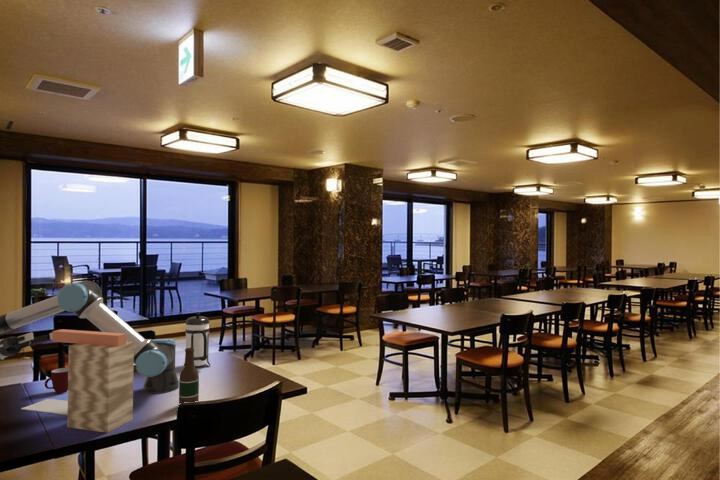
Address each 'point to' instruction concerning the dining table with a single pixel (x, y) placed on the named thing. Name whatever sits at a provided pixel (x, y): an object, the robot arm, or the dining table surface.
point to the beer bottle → (189, 379)
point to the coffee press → (198, 338)
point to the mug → (59, 380)
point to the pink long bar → (89, 337)
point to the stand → (100, 386)
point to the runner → (49, 406)
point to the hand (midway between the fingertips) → (48, 334)
